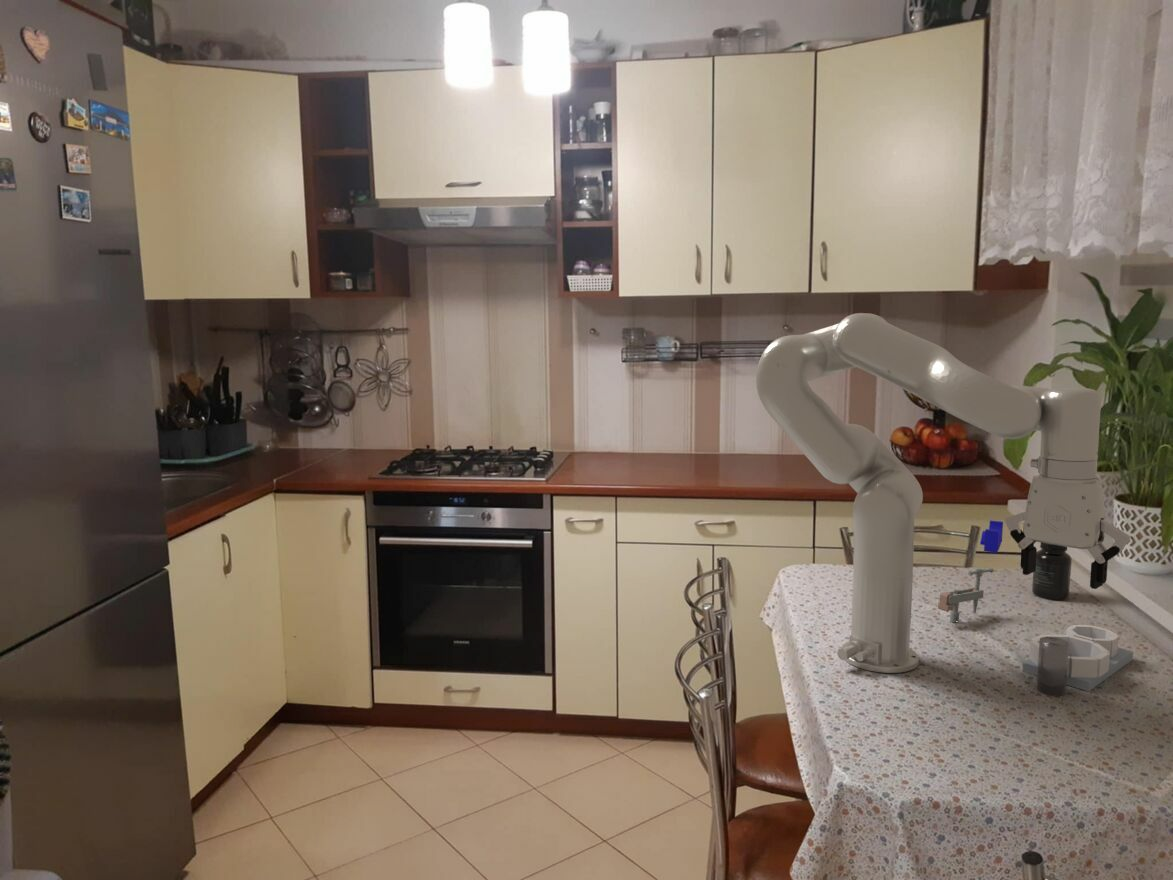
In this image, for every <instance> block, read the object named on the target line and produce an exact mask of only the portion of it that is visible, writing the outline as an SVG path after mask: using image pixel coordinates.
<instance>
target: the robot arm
mask: <svg viewBox="0 0 1173 880" xmlns="http://www.w3.org/2000/svg"><path fill="white" fill-rule="evenodd" d="M756 368H757V369H756V373H755V383H756V385H755V386H756V391H757V396H758V397H759V400H760V401H761V404H762V406H763V407H764V410H765V411H766V412H767V414H769V416H770V417H771V418H772V420H774V422H775V423H776V425H778V426H779V427H780V428H781V430H782V431H783V432H784V433H785V435H787V436H788V438H790V440H791V441H792V442H793V444H794V445H795V446H796V447H797V448H798V449H799V451H801V452H802V454H803V455H804V456H805V457H806V458H807V459H808V460H809V462H810V463H811V464H812V465H813V466H814V467H815V468H816V470H817V471H818V472H819V473H820V474H821V475H822V477H823V478H825V479H826V480H828V481H829V482H831V483H833V484H837V485H847V484H848V485H849V486H850V487H851V488H852V489H853V490H854V491H855V492H856V493H857V494H856V496H855V499H854V500H853V501H854V502H853V505H852V506H853V507H852V528H853V529H852V531H853V557H852V558H853V559H852V561H853V563H852V569H853V573H852V575H853V576H852V598H851V599H852V603H851V626H850V635H849V639H848V641H847V642H845V643H844V644H842V645H841V647H840V648H839V649H837V652H836V653H837V654H836V655H837V658H839V660H840V661H845V662H846V663H848V664H849V665H852V666H853V667H855V668H859V669H862V670H865V671H870V672H875V673H883V674H896V673H897V674H898V673H899V674H900V673H906V672H910V671H912V670H914V669H917V667H918V665H919V660H920V659H919V657H920V656H919V654H918V653H917V652H916V651H915V650H914V649H912V648H910V644H911V643H910V641H911V623H912V621H911V620H912V599H913V581H914V553H915V552H914V551H915V549H914V548H915V545H914V536H915V535H914V534H915V533H914V532H915V531H914V530H915V519H916V516H917V514H918V512H919V511H920V509H921V508H922V504H923V500H924V498H923V497H924V494H923V489H922V486H921V485H920V483H919V481H918V480H917V478H916V477H915V475H914V474H913V473H912V472H911V471H910V469H908V468H907V466H905V465H904V464H903V462H902V461H900V459H899V458H898V457H897V456H896V455H895V454H894V452H892V451H891V450H890V448H889V447H887V445H886V444H885V443H884V442H883V441H882V440H881V438H879V437H878V436H877V435H876V434H874V432H872V431H871V430H870V429H869V428H867V427H865V426H863V425H860V424H855V423H845V421H843V420H842V419H841V418H840V417H839V416H838V415H837V414H836V413H835V411H833V409H832V408H831V407H830V406H829V404H828V403H827V402H825V401H824V399H822V397H820V396H819V395H818V394H817V393H816V392H814V391H813V390H812V388H811V386H810V385H809V382H811V381H814V380H818V379H822V378H824V377H827V376H830V375H834V374H837V373H842V372H845V371H848V370H851V369H854V368H858V369H860V370H862V371H864V372H867V373H868V374H870V375H873V376H875V377H877V378H880V379H881V380H884V381H886V382H888V383H889V384H892V385H894V386H896V387H898V388H900V389H902V390H904V391H907V392H909V393H910V394H912V395H915V396H916V397H917V398H919V399H921V400H922V401H925V402H926V403H929V404H932V405H933V406H935V407H937V408H939V409H940V410H942V411H944V412H946V413H948V414H950V415H952V416H954V417H956V418H958V419H960V420H961V421H963V422H966V423H968V424H970V425H972V426H974V427H975V428H976V427H977V428H978V429H980V430H983V431H984V432H987V433H988V434H992V435H994V436H996V437H999V438H1002V439H1007V440H1018V439H1021V438H1024V437H1027V436H1029V435H1030V434H1031V433H1033V431H1034V432H1039V431H1040V448H1039V449H1040V451H1039V452H1040V453H1039V456H1038V458H1031V460H1030V462H1029V463H1030V464H1029V465H1030V467H1031V468H1035V469H1036V470H1037V474H1038V475H1033V477H1032V479H1031V482H1030V485H1029V486H1030V487H1029V489H1028V490H1029V491H1028V494H1027V501H1026V507H1025V511H1023V512H1020V513H1017V514H1013V515H1012V516H1008V517H1006V518H1005V519H1004V521H1005V524H1006V527H1007V529H1008V531H1009V535H1010V536H1011V538H1012V539H1013V541H1015V543H1016V544H1017V547H1018V549H1020V567H1021V568H1022V575H1023V576H1025V575H1026V576H1028V575H1030V574H1033V572H1035V571H1036V555H1037V551H1038V550H1037V548H1036V546H1035V544H1036V543H1037V542H1038V543H1041V542H1042V543H1047V544H1053V545H1059V546H1065V547H1067V548H1072V549H1079V550H1087V551H1088V552H1089V553H1090V555H1091V556H1092V558H1093V559H1094V561H1093V562H1091V563H1090V577H1089V578H1090V581H1089V587H1090V588H1091V589H1094V590H1096V589H1099V588H1100V587H1102V586H1103V584H1105V583H1106V582H1107V580H1108V566H1109V565H1108V561H1110V560H1112V559H1113V558H1114V557H1116V556H1117V555H1119V554H1120V553H1122V551H1123V550H1124V548H1125V547H1126V546H1127V544H1128V543H1129V541H1130V540H1131V535H1129V534H1128V533H1126V531H1125V532H1124V531H1123V530H1122V529H1119V528H1118V527H1116V526H1115V525H1114V524H1112V523H1110V522H1108V521H1106V510H1105V507H1106V506H1105V497H1104V490H1103V485H1102V481H1101V480H1099V479H1097V473H1098V458H1099V454H1098V453H1099V443H1100V442H1099V441H1100V439H1099V437H1100V423H1101V422H1100V420H1101V410H1102V409H1101V406H1102V405H1101V403H1102V398H1101V395H1100V392H1098V391H1097V390H1096V389H1093V388H1087V387H1072V386H1071V387H1067V386H1066V387H1054V388H1047V387H1046V388H1045V387H1034V386H1030V385H1029V386H1028V385H1021V384H1011V385H1009V384H1007V383H1006V382H1005V383H1004V382H1002V381H1000V380H998V379H996V378H994V377H991V376H989V375H987V374H985V373H983V372H980V371H978V370H977V369H975V368H973V367H971V366H969V365H967V364H966V363H963V361H960V360H959V359H958V358H956V357H955V356H954V355H953V354H952V353H951V352H949V351H948V350H947V349H945V348H944V347H942V346H940V345H939V344H936V343H934V342H931V341H930V340H927V339H925V338H922V337H919V336H917V335H916V334H914V333H913V334H912V333H911V332H908V331H907V330H903V329H901V328H900V327H897V326H895V325H893V324H891V323H888V321H887V320H885V318H883V317H882V316H880V315H878V314H874V313H864V312H859V313H858V312H857V313H852V314H850V315H847V316H846V317H844V318H843V319H842V320H840V322H838V323H836V324H833V325H829V326H827V327H822V328H820V329H816V330H813V331H810V332H806V333H804V334H803V333H802V334H792V335H791V334H790V335H784V336H781V337H779V338H776V339H775V340H773V341H772V342H770V344H769V345H768V346H767V347H766V348H765V349H764V350H763V352H762V354H761V356H760V358H759V361H758V365H757V367H756ZM1021 522H1024V523H1023V530H1022V529H1020V525H1019V524H1020V523H1021ZM1105 535H1108V536H1109V537H1111V538H1112V539H1113V540H1114V542H1113V544H1112V545H1111V547H1109V548H1107V547H1106V545H1104V543H1103V542H1105V541H1104V540H1105V537H1106V536H1105Z"/></svg>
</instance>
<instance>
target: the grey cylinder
mask: <svg viewBox="0 0 1173 880" xmlns="http://www.w3.org/2000/svg"><path fill="white" fill-rule="evenodd" d="M1068 653H1069V643H1068V642H1067V641H1066V640H1063V639H1060V638H1056V637H1042V638H1040V643H1039V657H1038V671H1037V676H1036V687H1035V689H1036V691H1039V693H1042V694H1044V695H1048V696H1051V697H1054V696H1055V697H1061V696H1064V695H1066V692H1067V685H1066V679H1067V666H1068Z"/></svg>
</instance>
